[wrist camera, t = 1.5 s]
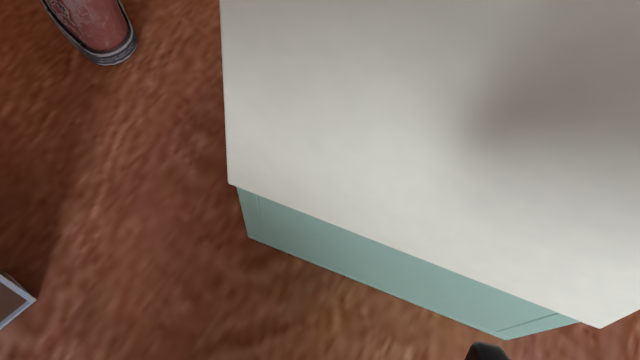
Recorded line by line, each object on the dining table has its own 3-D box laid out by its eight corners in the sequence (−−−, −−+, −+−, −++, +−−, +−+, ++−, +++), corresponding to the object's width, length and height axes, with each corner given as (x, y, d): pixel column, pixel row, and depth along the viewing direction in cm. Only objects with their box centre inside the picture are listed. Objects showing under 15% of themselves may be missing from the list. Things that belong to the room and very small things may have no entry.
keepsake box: (344, 28, 28) (361, -77, 22) (561, 106, 27) (645, 19, 21) (247, 237, 23) (233, 179, 17) (506, 341, 22) (592, 320, 16)
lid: (226, -514, 6) (191, -508, 5) (1479, -179, 5) (1559, -137, 4) (237, 164, 17) (226, 184, 17) (601, 306, 16) (599, 330, 16)
